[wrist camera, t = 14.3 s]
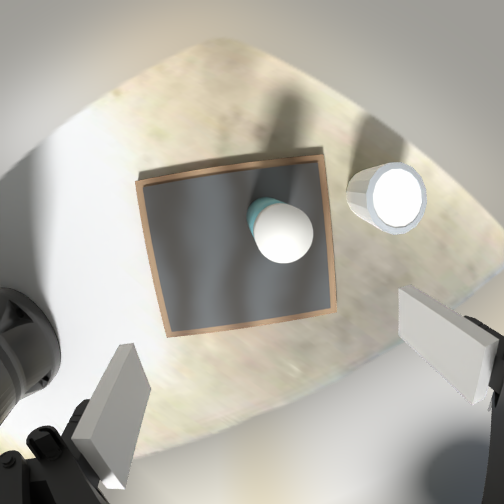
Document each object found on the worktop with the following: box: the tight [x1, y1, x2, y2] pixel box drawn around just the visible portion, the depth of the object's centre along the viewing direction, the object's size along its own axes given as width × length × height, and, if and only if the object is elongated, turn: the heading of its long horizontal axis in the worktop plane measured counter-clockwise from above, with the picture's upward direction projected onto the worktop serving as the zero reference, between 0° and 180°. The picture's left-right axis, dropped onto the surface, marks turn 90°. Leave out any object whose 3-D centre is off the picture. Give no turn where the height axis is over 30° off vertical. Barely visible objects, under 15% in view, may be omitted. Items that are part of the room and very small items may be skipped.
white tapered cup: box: [346, 162, 427, 235], centre depth 31 cm, size 7×7×7 cm
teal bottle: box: [246, 197, 313, 263], centre depth 27 cm, size 4×4×11 cm
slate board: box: [135, 154, 337, 338], centre depth 34 cm, size 20×18×1 cm
